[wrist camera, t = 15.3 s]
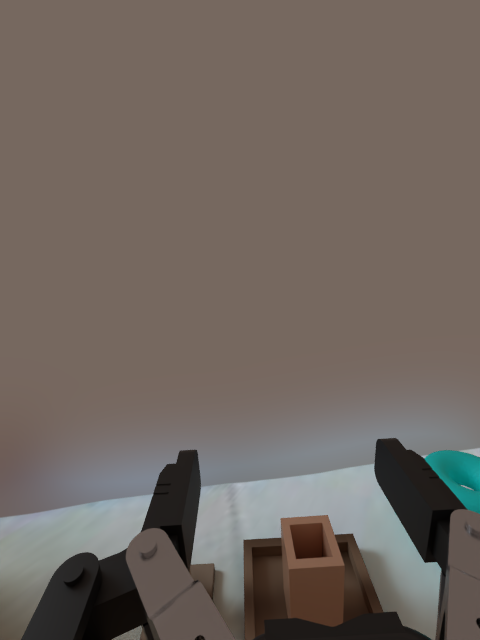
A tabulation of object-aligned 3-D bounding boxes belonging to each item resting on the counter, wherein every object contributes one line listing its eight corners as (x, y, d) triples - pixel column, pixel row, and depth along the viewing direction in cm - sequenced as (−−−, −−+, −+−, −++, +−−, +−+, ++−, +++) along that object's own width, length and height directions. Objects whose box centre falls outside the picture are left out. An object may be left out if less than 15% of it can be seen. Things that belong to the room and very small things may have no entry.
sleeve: (342, 642, 29) (344, 565, 26) (291, 645, 29) (288, 569, 26) (327, 584, 33) (327, 515, 31) (283, 587, 33) (280, 518, 31)
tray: (414, 717, 24) (417, 698, 24) (247, 725, 25) (245, 706, 24) (352, 548, 38) (352, 533, 37) (244, 554, 38) (243, 539, 38)
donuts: (406, 447, 41) (480, 444, 41) (401, 504, 44) (470, 502, 43) (454, 509, 31) (551, 506, 31) (444, 578, 34) (534, 576, 34)
